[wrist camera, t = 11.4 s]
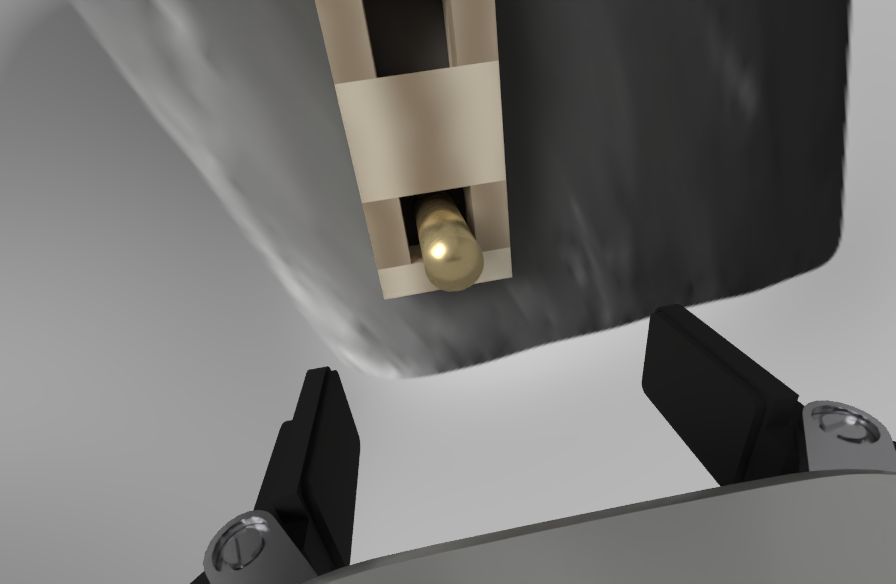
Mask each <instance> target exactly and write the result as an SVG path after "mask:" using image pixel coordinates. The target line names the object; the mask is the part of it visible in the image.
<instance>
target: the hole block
mask: <svg viewBox="0 0 896 584" xmlns="http://www.w3.org/2000/svg"><path fill="white" fill-rule="evenodd" d="M315 3H316V7H317V12H318V16H319V20H320V24H321V29H322V33H323V37H324V42H325V46H326V50H327V54H328V59H329V63H330V67H331V72H332V76H333V80H334V85H335V89H336V93H337V97H338V102H339V106H340V110H341V115H342V119H343V123H344V128H345V132H346V136H347V140H348V145H349V149H350V153H351V158H352V162H353V166H354V170H355V175H356V179H357V183H358V188H359V192H360V196H361V201H362V205H363V209H364V213H365V218H366V222H367V226H368V231H369V235H370V239H371V243H372V248H373V252H374V256H375V261H376V265H377V269H378V274H379V278H380V282H381V286H382V291H383V295H384V299H390V298H396V297H402V296H407V295H413V294H419V293H424V292H430V291H436V290H441V289H439V288H437V287H436V286H434V285H433V284H432V283H431V282H430V281H429V279H428V278H427V275H426V273H425V268H424V263H423V257H422V252H421V246H420V244H419V245H413V246H409V243H408V237H407V232H406V226H405V221H404V216H403V210H402V205H401V200H400V197H404V196H410V195H416V194H422V193H429V192H435V191H441V190H447V189H453V188H459V187H463V190H464V199H465V208H466V217H467V226H468V228H469V229H470V231H471V233H472V235H473V237H474V238H475V240H476V242H477V244H478V246H479V247H480V249H481V251H482V253H483V257H484V268H483V271H482V274H481V275H480V277H479V279H478V280H477V281H476V282H475V283H474V284H476V283H482V282H487V281H493V280H499V279H504V278H510V277H512V267H511V251H510V235H509V219H508V203H507V187H506V171H505V155H504V139H503V123H502V107H501V91H500V75H499V59H498V43H497V28H496V12H495V0H442V4H443V13H444V22H445V31H446V39H447V48H448V57H449V66H450V68H443V69H436V70H429V71H422V72H416V73H409V74H402V75H395V76H388V77H381V78H378V77H377V72H376V66H375V61H374V56H373V50H372V45H371V39H370V34H369V29H368V23H367V18H366V13H365V7H364V2H363V0H315Z"/></svg>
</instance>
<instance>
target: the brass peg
mask: <svg viewBox="0 0 896 584" xmlns="http://www.w3.org/2000/svg"><path fill="white" fill-rule="evenodd" d="M414 213H415V219H416V225H417V230H418V236H419V241H420V246H421V252H422V257H423V263H424V268H425V273H426V275H427V278H428V279H429V281H430V282H431V283H432V284H433V285H434V286H436V287H437V288H439V289H441V290H444V291H449V292H456V291H461V290H464V289H466V288H468V287H470V286H472V285H473V284H474V283H475V282H476V281H477V280H478V279H479V277H480V275H481V274H482V271H483V268H484V257H483V253H482V251H481V249H480V247H479V246H478V244H477V242H476V240H475V238H474V237H473V235H472V233H471V231H470V229H469V228H468V226H467V224H466V222H465V220H464V219H463V217H462V215H461V213H460V212H459V210H458V208H457V206H456V204H455V203H454V201H453V199H452V198H451V197H450V196H449V195H448V194H447V193H445V192H443V191H435V192H429V193H424V194H423V195H422V196H420V198H419V199H418V200H417V202H416V204H415V209H414Z"/></svg>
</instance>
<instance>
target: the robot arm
mask: <svg viewBox="0 0 896 584" xmlns="http://www.w3.org/2000/svg"><path fill="white" fill-rule="evenodd" d="M642 388H643V391H644V393H645V394H646V396H647V397H648V398H649V399H650V401H651V402H652V403H653V404H654V405H655V407H656V408H657V409H658V410H659V412H660V413H661V414H662V415H663V416H664V418H665V419H666V420H667V421H668V423H669V424H670V425H671V426H672V428H673V429H674V430H675V431H676V432H677V434H678V435H679V436H680V437H681V439H682V440H683V441H684V442H685V443H686V445H687V446H688V447H689V448H690V450H691V451H692V452H693V453H694V454H695V456H696V457H697V458H698V459H699V461H700V462H701V463H702V464H703V466H704V467H705V468H706V469H707V470H708V472H709V473H710V474H711V475H712V476H713V478H714V479H715V480H716V481H717V483H718V484H719V485H720V486H721V487H716V488H712V489H706V490H701V491H696V492H692V493H686V494H681V495H676V496H670V497H665V498H660V499H655V500H651V501H645V502H640V503H635V504H630V505H625V506H620V507H616V508H610V509H605V510H601V511H596V512H591V513H586V514H581V515H576V516H571V517H566V518H561V519H556V520H551V521H547V522H541V523H537V524H532V525H527V526H522V527H517V528H513V529H508V530H503V531H499V532H493V533H488V534H484V535H479V536H475V537H470V538H465V539H460V540H455V541H450V542H445V543H441V544H436V545H431V546H427V547H423V548H419V549H414V550H410V551H405V552H401V553H396V554H392V555H387V556H383V557H379V558H375V559H371V560H367V561H364V562H360V563H356V564H353V565H349V564H350V556H351V545H352V534H353V523H354V511H355V501H356V489H357V479H358V468H359V456H360V439H359V435H358V432H357V429H356V426H355V423H354V420H353V417H352V413H351V411H350V408H349V404H348V401H347V399H346V395H345V392H344V390H343V386H342V383H341V380H340V377H339V374H338V372H337V371H336V370H334V371H331V369H330V368H329V367H328V366H327V367H322V368H317V369H311V370H308V371H307V373H306V377H305V380H304V383H303V387H302V390H301V393H300V397H299V400H298V403H297V407H296V410H295V413H294V417H293V420H291V421H286V422H284V423H283V424H282V426H281V428H280V431H279V434H278V437H277V440H276V443H275V446H274V449H273V452H272V456H271V458H270V461H269V465H268V468H267V471H266V474H265V477H264V480H263V483H262V486H261V489H260V492H259V495H258V498H257V501H256V504H255V507H254V510H253V511H249V512H246V513H244V514H241V515H239V516H237V517H236V518H234V519H232V520H231V521H229V522H228V523H227V524H226V525H225V526H223V527H222V528H221V529H220V530H219V531H218V532H217V534H216V535H215V536H214V538H213V539H212V540H211V542H210V544H209V546H208V548H207V550H206V552H205V556H204V562H203V565H204V570H205V571H204V572H203V573H201V574H200V575H199V576H198V577H197V578H196V579H195V580H194V581H193V582H191V583H190V584H896V442H895V441H892V438H891V436H890V434H889V432H888V431H887V429H886V427H885V426H884V425H882V423H880V422H879V421H878V420H877V419H875V418H874V417H872V416H871V415H869V414H868V413H866V412H864V411H861V410H859V409H857V408H855V407H853V406H849V405H846V404H843V403H839V402H833V401H815V402H811V403H808V404H807V405H806V406H804V405H802V404H801V403H800V402H798V401H797V400H798V397H799V395H798V394H796V393H795V392H794V391H793V390H791V389H790V388H789V387H787V386H786V385H785V384H784V383H782V382H781V381H780V380H778V379H777V378H775V377H774V376H773V375H772V374H770V373H769V372H768V371H767V370H765V369H764V368H763V367H761V366H760V365H759V364H757V363H756V362H755V361H753V360H752V359H751V358H750V357H748V356H747V355H746V354H744V353H743V352H742V351H740V350H739V349H738V348H736V347H735V346H734V345H733V344H731V343H730V342H729V341H727V340H726V339H725V338H723V337H722V336H721V335H719V334H718V333H717V332H716V331H714V330H713V329H712V328H710V327H709V326H708V325H706V324H705V323H704V322H702V321H701V320H700V319H699V318H697V317H696V316H695V315H693V314H692V313H691V312H689V311H688V310H687V309H686V308H684V307H683V306H681V305H680V304H673V305H668V306H662V307H658V308H657V309H656V310H655V313H652V314H651V316H650V322H649V330H648V338H647V345H646V354H645V362H644V369H643V376H642Z"/></svg>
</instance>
